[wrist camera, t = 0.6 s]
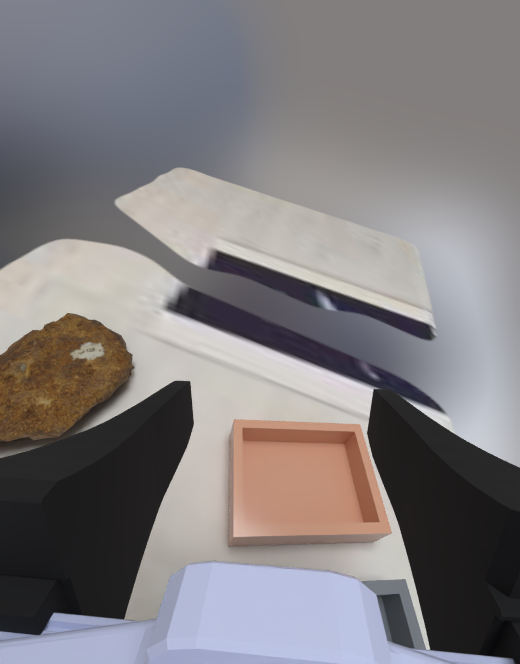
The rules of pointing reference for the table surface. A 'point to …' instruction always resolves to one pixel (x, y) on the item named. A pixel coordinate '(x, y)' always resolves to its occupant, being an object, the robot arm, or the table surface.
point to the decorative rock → (59, 376)
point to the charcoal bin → (397, 612)
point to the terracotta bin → (302, 485)
